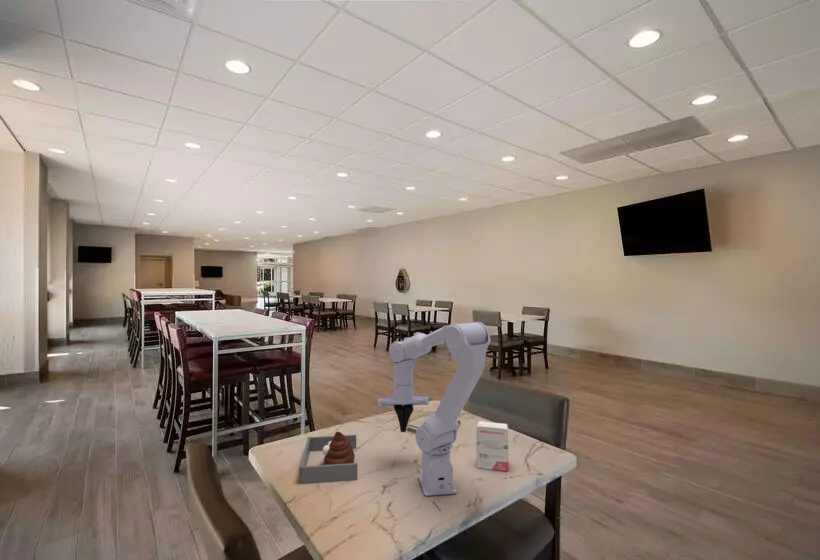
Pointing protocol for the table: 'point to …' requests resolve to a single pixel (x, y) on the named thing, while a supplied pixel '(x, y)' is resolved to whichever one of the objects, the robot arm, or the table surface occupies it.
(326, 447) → the poop emoji
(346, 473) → the bin
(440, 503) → the table surface
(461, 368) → the robot arm
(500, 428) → the ink box
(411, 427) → the washcloth
